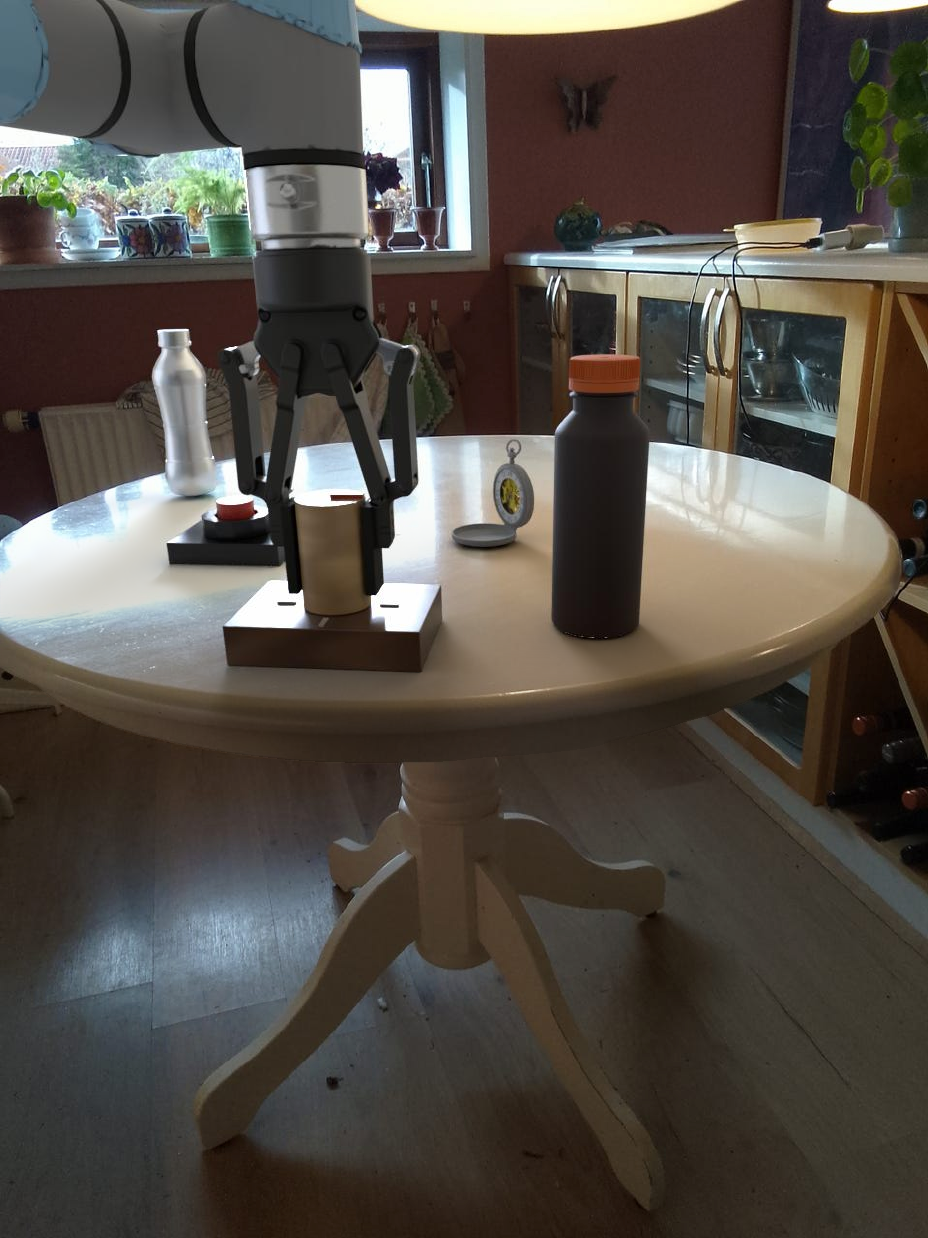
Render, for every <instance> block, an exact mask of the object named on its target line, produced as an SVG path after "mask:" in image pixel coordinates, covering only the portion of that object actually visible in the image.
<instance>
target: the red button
mask: <svg viewBox="0 0 928 1238" xmlns="http://www.w3.org/2000/svg"><path fill="white" fill-rule="evenodd" d="M215 506H216V508H215V509H217V516H218V518H221V519H239V518H247V517H250V516H254V515H255V509H254V506H255V501H254V498H253V497H251V496H249V495H232V496H225V497H221V498H219V499H216V501H215Z"/></svg>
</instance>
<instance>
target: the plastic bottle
mask: <svg viewBox="0 0 928 1238" xmlns="http://www.w3.org/2000/svg"><path fill="white" fill-rule="evenodd" d="M157 337H158V342H157V343H158V344H157V345H158V347H159V348H161V353H160V354H159V356H158V358H157V359H156V361H155V363H154V365H153V368H152V373H151V380H152V385H153V388H154V392H155V396H156V399H157V404H158V406H159V410H160V416H161V420H162V422H163V423H162V426H163V432H164V445H165V446H164V447H165V463H164V477H165V481H166V484H167V487H168V489H169V490H170V491H171V492H172V494H174V495H177V496H184V497H198V496H202V495H206V494H209V493H213V492H214V491H215V490H216V488H217V486H218V485H219V484H218V483H219V470H218V466H217V462H216V459H215V457H214V456H213V455H214V454H213V449H212V445H211V439H210V434H209V430H208V429H209V428H208V421H207V418H208V417H207V415H208V414H207V373H206V371H205V368H204V366H203V365H202V364H201V362H200V361H199V359H198V358H197V357H196V355H194V354H193V352H192V351H191V349H190V346H192V341H191V336H190V331H189V329H187V328H173V329H172V328H170V329H159V330H157Z"/></svg>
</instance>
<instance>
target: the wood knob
mask: <svg viewBox="0 0 928 1238" xmlns="http://www.w3.org/2000/svg"><path fill="white" fill-rule="evenodd" d="M295 497H296V498H295V499H294V503H295V514H296V525H297V537H298V548H299V559H300V570H301V581H302V592H303V603H304V608H305V609H306V610H307V611H309V612H311V613H315V614H320V615H344V614H350V613H355V612H358V611H361V610H363V609H365V608H367V607H368V606H370V604H371V602H372V597H371V596H366V590H365V574H364V559H363V543H362V527H361V511H360V507H361V506H362V505H363V504H364V503H365V502H366V501H367V500H366V494H365V493H364V492H360V491H358V490H350V489H322V490H314V491H309V492H305V493H302V494H299V495H297V496H295Z"/></svg>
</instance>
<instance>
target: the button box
mask: <svg viewBox="0 0 928 1238" xmlns="http://www.w3.org/2000/svg"><path fill="white" fill-rule="evenodd" d="M254 509H255V515H254V516H250V517H247V518H239V519H221V518H218V516H217V508H214V509H210V510H207V511H206V512H204V513H203V514H201V515H200V516H201V520H200V521H198V522H197V523H195V524H193V525H192V526H190V527H188V528H187V529H185V530H184V531H182V532H180V534H178V535H176V536H175V537H173V538H172V539H171V540H168V541H167V542H166V549H167V557H168V564H169V565H183V566H185V565H186V566H187V565H188V566H227V567H228V566H230V567H231V566H233V567H234V566H236V567H241V566H242V567H276V568H277V567H280V566H282V565H283V564H284V563H285V553H284V547H277V546H274V545H273V543H272V541H271V538H270V528H269V527H270V526H269V518H268V508H267V507H265V506H260V505H254Z"/></svg>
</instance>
